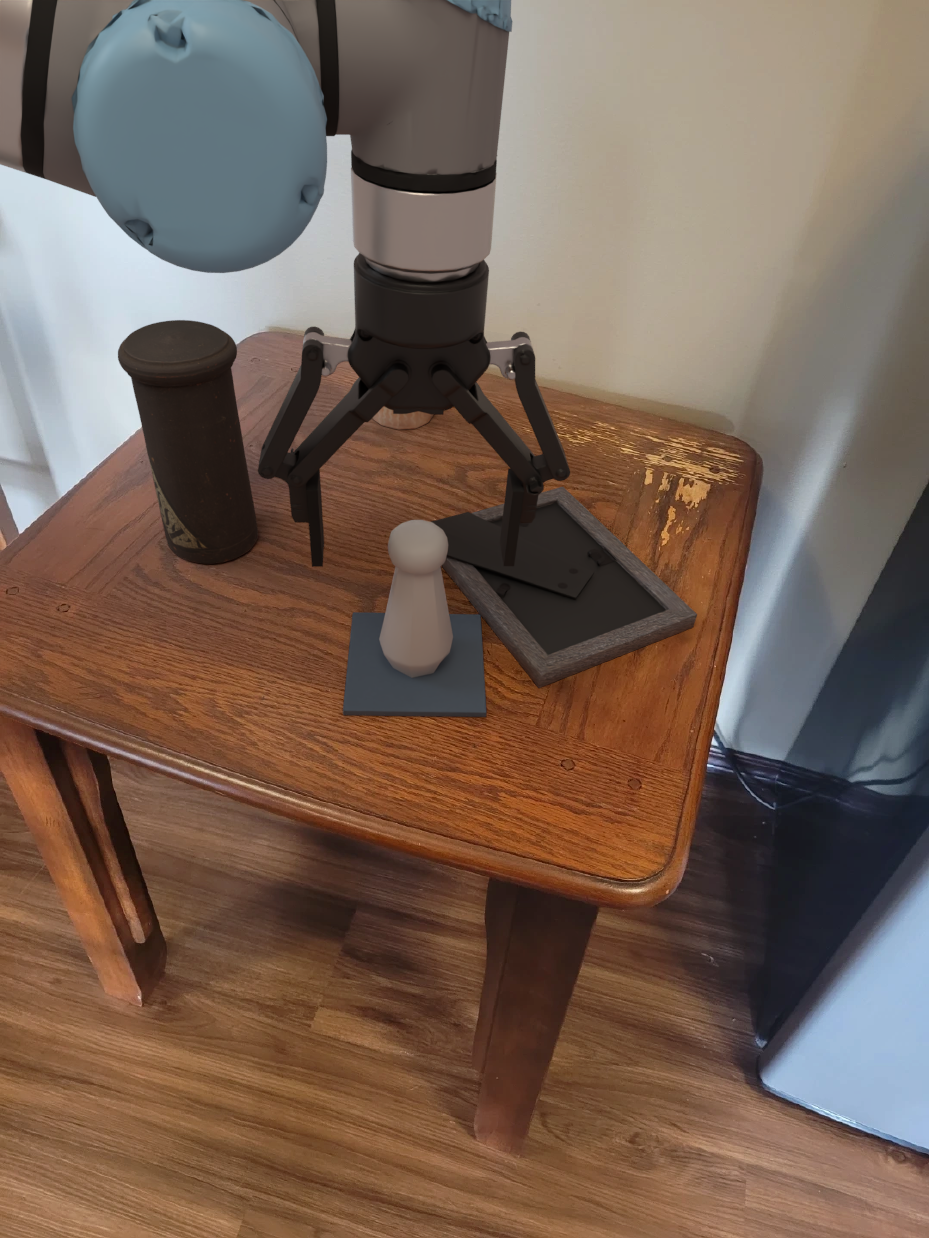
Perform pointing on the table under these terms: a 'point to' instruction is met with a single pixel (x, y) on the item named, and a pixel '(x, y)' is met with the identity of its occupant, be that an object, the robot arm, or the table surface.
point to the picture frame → (560, 588)
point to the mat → (397, 694)
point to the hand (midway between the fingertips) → (413, 554)
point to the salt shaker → (417, 600)
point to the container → (193, 437)
